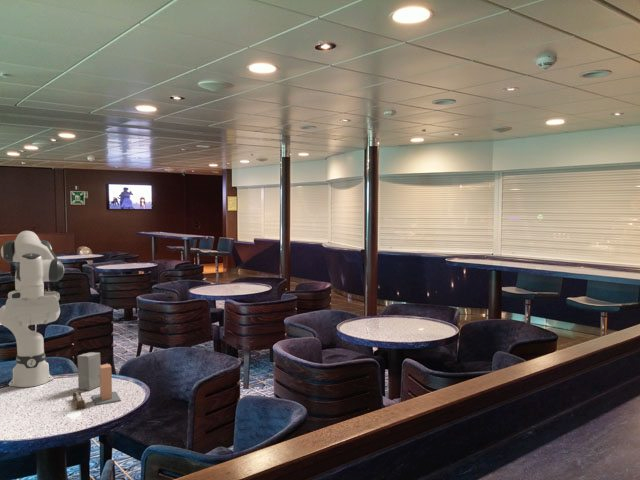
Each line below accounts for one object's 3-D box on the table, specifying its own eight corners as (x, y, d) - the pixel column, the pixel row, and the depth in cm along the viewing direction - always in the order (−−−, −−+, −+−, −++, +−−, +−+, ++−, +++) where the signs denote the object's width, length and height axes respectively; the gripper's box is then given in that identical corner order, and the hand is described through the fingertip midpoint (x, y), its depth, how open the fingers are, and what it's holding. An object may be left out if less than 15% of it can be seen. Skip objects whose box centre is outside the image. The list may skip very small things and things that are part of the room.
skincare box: (89, 391, 236) (88, 357, 236) (76, 389, 239) (76, 355, 238) (102, 385, 244) (101, 352, 244) (90, 383, 247) (89, 350, 246)
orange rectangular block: (100, 396, 228) (99, 365, 227) (109, 394, 230) (109, 363, 229) (102, 400, 223) (101, 368, 223) (111, 398, 226) (111, 366, 225)
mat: (91, 396, 229) (91, 395, 229) (115, 392, 234) (115, 391, 234) (95, 405, 219) (95, 404, 219) (120, 401, 224) (120, 399, 224)
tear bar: (72, 399, 226) (72, 391, 226) (80, 397, 228) (80, 390, 227) (76, 409, 214) (76, 401, 214) (84, 408, 216) (84, 400, 216)
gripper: (59, 289, 226) (59, 320, 227) (4, 293, 215) (5, 326, 216) (60, 291, 220) (61, 323, 221) (4, 295, 210) (5, 329, 211)
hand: (33, 324), depth 218 cm, fingers open, 8 cm apart
